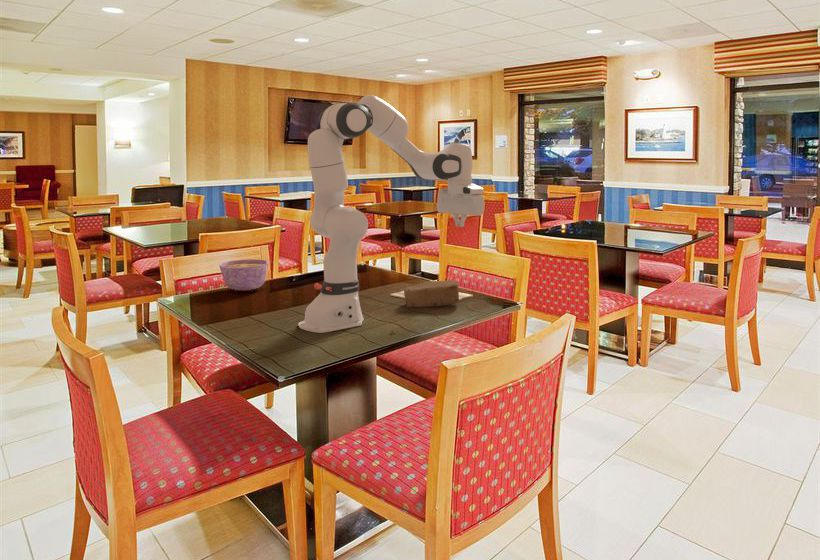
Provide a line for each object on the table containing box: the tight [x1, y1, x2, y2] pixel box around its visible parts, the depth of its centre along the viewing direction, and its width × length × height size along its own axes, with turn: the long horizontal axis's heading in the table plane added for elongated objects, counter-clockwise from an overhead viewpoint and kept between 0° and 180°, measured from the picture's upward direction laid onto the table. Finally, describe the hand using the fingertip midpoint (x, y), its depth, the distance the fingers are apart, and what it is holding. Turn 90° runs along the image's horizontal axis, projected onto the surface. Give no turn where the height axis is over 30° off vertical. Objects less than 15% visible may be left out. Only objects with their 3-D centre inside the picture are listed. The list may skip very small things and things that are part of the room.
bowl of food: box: [219, 258, 269, 291], centre depth 259 cm, size 20×20×12 cm
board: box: [390, 290, 474, 301], centre depth 243 cm, size 20×26×1 cm
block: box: [403, 280, 460, 308], centre depth 228 cm, size 11×8×20 cm
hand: (459, 226), depth 227 cm, fingers closed
